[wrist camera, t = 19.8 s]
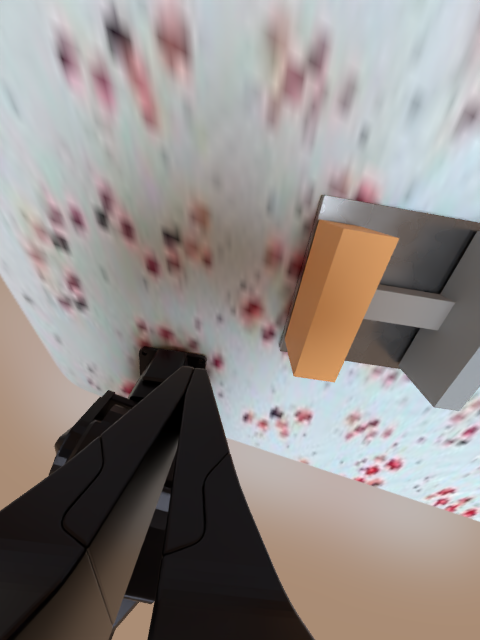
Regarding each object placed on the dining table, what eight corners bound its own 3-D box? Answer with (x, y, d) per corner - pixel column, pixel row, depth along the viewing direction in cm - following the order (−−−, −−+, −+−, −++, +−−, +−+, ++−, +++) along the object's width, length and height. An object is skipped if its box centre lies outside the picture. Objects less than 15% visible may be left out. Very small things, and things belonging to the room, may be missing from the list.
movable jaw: (418, 368, 22) (459, 411, 18) (282, 348, 22) (290, 386, 18) (504, 235, 17) (592, 250, 13) (323, 203, 16) (351, 207, 12)
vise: (514, 381, 24) (589, 434, 19) (279, 346, 23) (288, 391, 18) (633, 251, 18) (793, 275, 13) (321, 195, 17) (354, 196, 12)
